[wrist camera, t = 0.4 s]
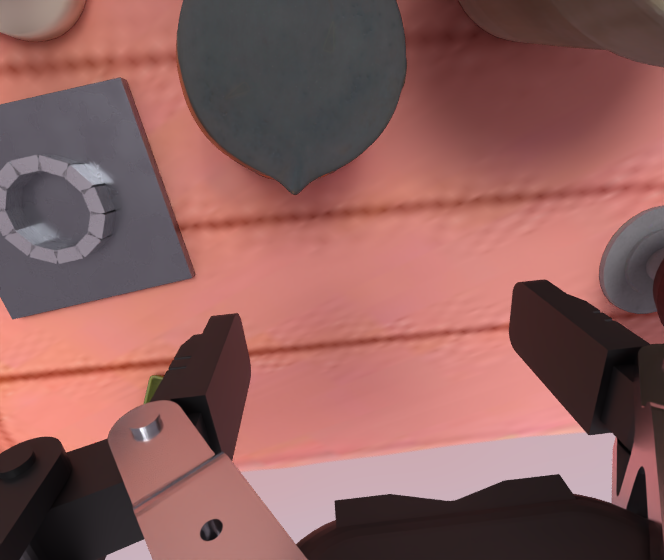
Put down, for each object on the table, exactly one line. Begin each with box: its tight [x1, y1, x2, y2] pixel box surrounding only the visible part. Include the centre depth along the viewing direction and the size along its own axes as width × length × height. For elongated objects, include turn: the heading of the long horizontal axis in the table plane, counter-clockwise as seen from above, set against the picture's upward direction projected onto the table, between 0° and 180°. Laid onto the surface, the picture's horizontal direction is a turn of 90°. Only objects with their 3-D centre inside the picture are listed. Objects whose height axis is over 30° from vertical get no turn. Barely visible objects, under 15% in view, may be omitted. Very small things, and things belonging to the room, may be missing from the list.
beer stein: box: [176, 0, 407, 195], centre depth 24 cm, size 19×15×20 cm
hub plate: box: [0, 78, 195, 319], centre depth 34 cm, size 18×18×3 cm
